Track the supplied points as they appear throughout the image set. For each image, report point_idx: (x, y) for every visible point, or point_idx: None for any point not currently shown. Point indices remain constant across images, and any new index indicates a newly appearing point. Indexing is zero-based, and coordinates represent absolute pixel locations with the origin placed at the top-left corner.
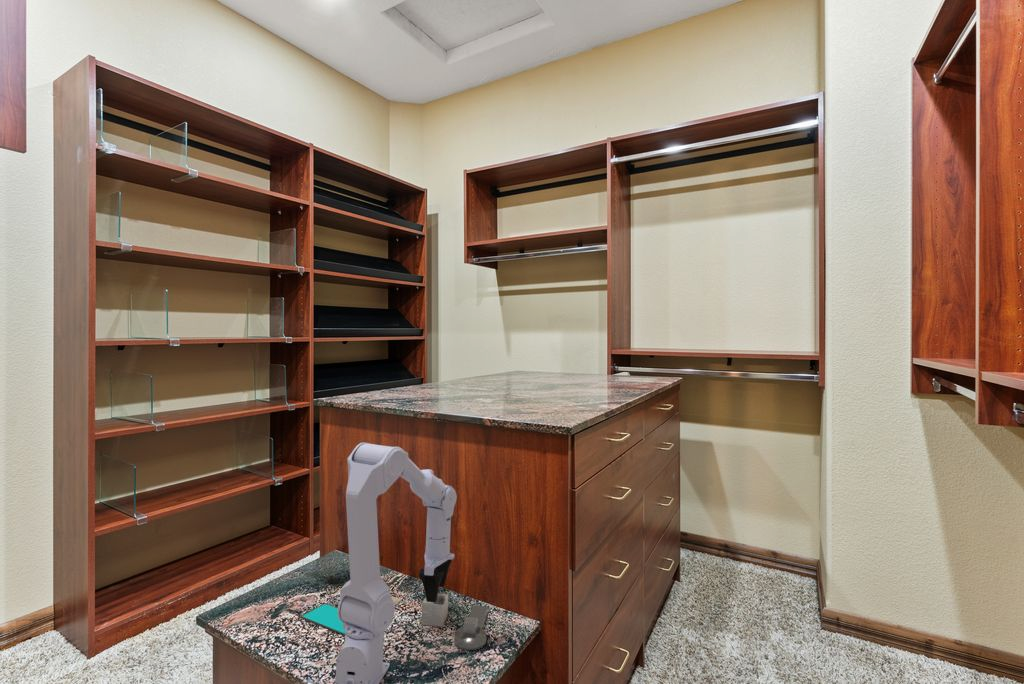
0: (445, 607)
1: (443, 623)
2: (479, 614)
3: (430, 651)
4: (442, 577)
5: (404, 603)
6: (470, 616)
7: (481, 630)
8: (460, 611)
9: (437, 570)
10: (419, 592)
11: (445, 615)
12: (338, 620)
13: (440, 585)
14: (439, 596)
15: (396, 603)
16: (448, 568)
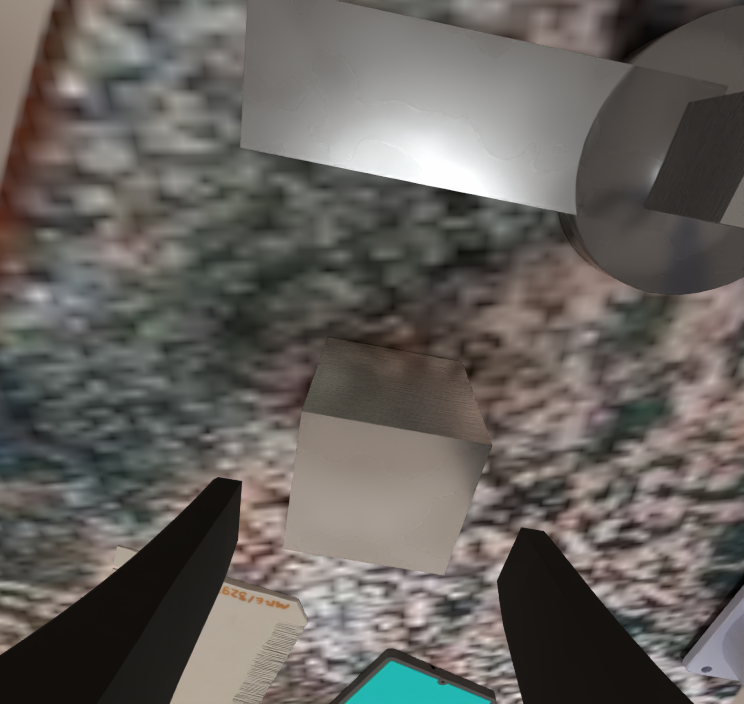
0: (395, 391)
1: (430, 357)
2: (400, 81)
3: (705, 406)
4: (200, 571)
5: None
6: (433, 172)
7: (683, 57)
8: (263, 251)
9: (161, 697)
10: (78, 499)
11: (385, 360)
12: None
13: (237, 514)
14: (342, 475)
15: (230, 584)
16: (95, 624)
